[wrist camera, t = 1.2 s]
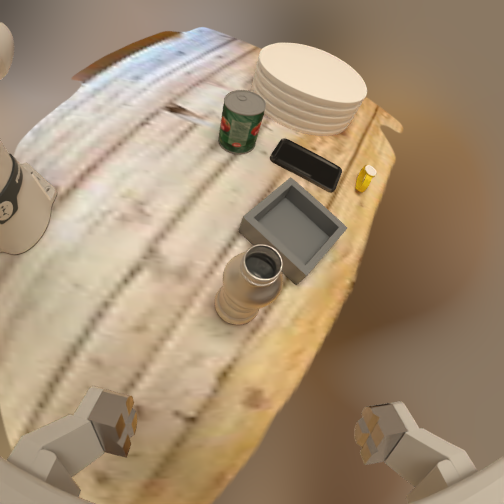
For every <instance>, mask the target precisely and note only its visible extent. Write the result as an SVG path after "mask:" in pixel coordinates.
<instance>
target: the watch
mask: <svg viewBox="0 0 504 504" xmlns="http://www.w3.org/2000/svg"><path fill="white" fill-rule="evenodd" d="M365 175H366V177H365ZM375 175H376V170H375V169H374V168H373V167H372V166H370V165H366V166H364V167H363V168H362V170H361V171H360V173H359V175H358V177H357V181H356V188H355V189H356V190H357V191H359V192H364V191H365V190H366V189H367V187H368V186H369V184H370V182H371V179H372V177H374V176H375ZM364 177H365V179H364ZM363 179H364V181H363ZM362 181H363V183H362Z"/></svg>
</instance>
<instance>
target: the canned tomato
mask: <svg viewBox="0 0 504 504" xmlns="http://www.w3.org/2000/svg"><path fill="white" fill-rule="evenodd" d="M265 108H266V102H265V100H264V99H263V98H262V97H261V96H260V95H258V94H256V93H254V92H251V91H246V90H236V91H232V92H230V93H228V94H227V95H226V96H225V98H224V106H223V112H222V119H221V126H220V133H219V144H220V146H221V147H222V148H223V149H224V150H226V151H228V152H230V153H233V154H245V153H248V152H250V151H251V150H252V149H253V148H254V147H255V142H256V139H257V136H258V132H259V129H260V125H261V122H262V118H263V115H264V111H265Z"/></svg>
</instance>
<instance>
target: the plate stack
mask: <svg viewBox="0 0 504 504" xmlns="http://www.w3.org/2000/svg"><path fill="white" fill-rule="evenodd" d="M251 92H254V93H256V94H258V95H260V96H261V97H262V98H263V99H264V100H265V102H266V108H265V111H264V114H265V115H266V116H268V117H269V118H270V119H272V120H274V121H275V122H277V123H279V124H281V125H283V126H285V127H287V128H289V129H292V130H295V131H297V132H301V133H305V134H309V135H315V136H331V135H336V134H339V133H341V132H343V131H344V130H345V129H346V128H347V127H348V125H349V124H350V122H351V120H352V119H353V117H354V115H355V114H356V112H357V110H358V108H359V107H360V105H361V103H362V101H363V100H364V98H365V97H366V94H367V87H366V85H365V83H364V81H363V79H362V78H361V76H360V75H359V74H358V73H357V72H356V71H355V70H354V69H353V68H352V67H350V66H349V65H348V64H346V63H345V62H343V61H342V60H340V59H339V58H337V57H335V56H333V55H331V54H329V53H327V52H325V51H322V50H320V49H317V48H313V47H310V46H306V45H301V44H296V43H276V44H272V45H268V46H266V47H264V48H263V49H262V50H261V51H260V54H259V58H258V62H257V66H256V70H255V74H254V78H253V83H252V86H251Z"/></svg>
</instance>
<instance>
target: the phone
mask: <svg viewBox="0 0 504 504" xmlns="http://www.w3.org/2000/svg"><path fill="white" fill-rule="evenodd" d="M270 160H271V161H272V162H273V163H275V164H277V165H279V166H281V167H283V168H285V169H287V170H289V171H291V172H293V173H294V174H296V175H298V176H300V177H302V178H304V179H306V180H308V181H310V182H311V183H313V184H315V185H317V186H319V187H321V188H322V189H324V190H326V191H328V192H334V190H335V189H336V186H337V184H338V181H339V178H340V176H341V173H342V169H341V168H340V167H339V166H337V165H335V164H334V163H332V162H330V161H328V160H326V159H324V158H323V157H321V156H319V155H317V154H315V153H313V152H311V151H310V150H308V149H306V148H304V147H302V146H300V145H298V144H296V143H294V142H292V141H290V140H288V139H281V141H280V142H279V144H278V145H277V147H276V148H275V150H274V151H273V153H272V154H271V156H270Z"/></svg>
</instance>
